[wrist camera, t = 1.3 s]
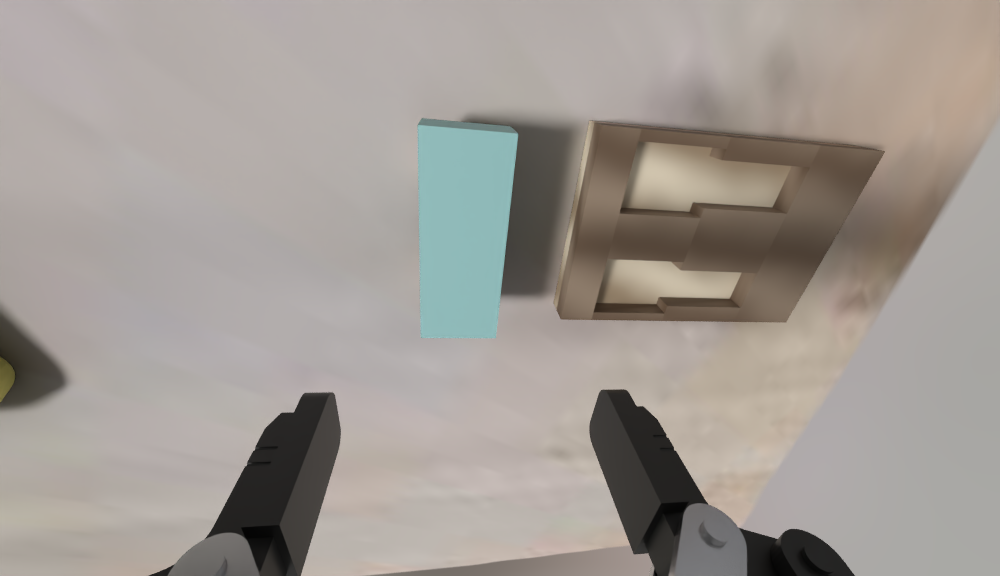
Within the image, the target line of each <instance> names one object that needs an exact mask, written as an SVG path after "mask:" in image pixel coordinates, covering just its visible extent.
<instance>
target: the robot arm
mask: <svg viewBox="0 0 1000 576" xmlns="http://www.w3.org/2000/svg"><path fill="white" fill-rule="evenodd" d="M340 436H341V429H340V422H339V416H338V411H337V405H336V399H335V395H334V393H304V394H303V395H302V397H301V399H300V401H299V403H298V405H297V407H296V409H295V412H294V413H281V414H280V415H279V416H278V417H277V418H276V419H275V420H274V421H273V422H271V423H270V424H269V425H268V426H267V427H266V428H265V430H264V432H263V434H262V435H261V437H260V439H259V441H258V443H257V445H256V447H255V451H253V453H252V454H251V456H250V458H249V460H248V462H247V466H245V468H244V470H243V472H242V474H241V475H240V477H239V479H238V481H237V483H236V485H235V487H234V489H233V491H232V493H231V494H230V496H229V498H228V500H227V502H226V504H225V506H224V508H223V510H222V512H221V513H220V515H219V517H218V519H217V521H216V523H215V525H214V527H213V528H212V530H211V532H210V533H209V534H208V536H207V537H206V538H205V540H203V541H201V542H199V543H198V544H196V545H195V546H193V547H192V548H191V549H189V550H188V551H187V552H186V553H185V554H184V555H183V556H182V557H181V558H180V559H179V560H178V561H177V562H176V564H174V565H172V566H171V567H169V568H167V569H164V570H162V571H160V572H157V573H155V574H152V575H149V576H301V573H302V569H303V566H304V563H305V559H306V556H307V553H308V549H309V546H310V543H311V539H312V536H313V533H314V529H315V526H316V523H317V519H318V516H319V513H320V509H321V506H322V503H323V500H324V496H325V493H326V490H327V486H328V483H329V480H330V476H331V473H332V470H333V466H334V463H335V460H336V456H337V453H338V449H339V445H340ZM590 438H591V442H592V445H593V448H594V450H595V453H596V456H597V458H598V461H599V464H600V466H601V469H602V471H603V474H604V477H605V479H606V482H607V485H608V487H609V490H610V493H611V495H612V498H613V501H614V503H615V506H616V508H617V511H618V514H619V516H620V519H621V522H622V524H623V527H624V530H625V532H626V535H627V537H628V540H629V543H630V545H631V548H632V551H633V553H634V554H644V553H649V556H650V558H651V561H652V563H653V565H652V567H651V570H650V575H649V576H855V575H854V574H853V573H852V571H851V570H850V569H849V567H848V566H847V565H846V563H845V562H844V561H843V560H842V559H841V557H840V556H839V555H838V554H837V553H836V552H835V551H834V550H833V549H832V548H831V547H830V546H829V545H828V544H826V543H825V542H824V541H822V540H821V539H819V538H818V537H816V536H814V535H812V534H810V533H808V532H805V531H803V530H799V529H789V530H787V531H785V532H784V533H783V534H782V535H781V536H780V537H779V539H775V538H772V537H768V536H765V535H761V534H758V533H754V532H751V531H747V530H743V529H741V528H738V527H737V525H736V524H735V523H734V522H733V521H732V519H731V518H729V517H728V516H727V515H726V514H725V513H723V512H722V511H720V510H719V509H717V508H715V507H713V506H711V505H708V503H707V502H706V500H705V499H704V497H703V496H702V494H701V492H700V491H699V489H698V487H697V486H696V484H695V482H694V481H693V479H692V477H691V475H690V474H689V472H688V470H687V469H686V467H685V465H684V464H683V462H682V460H681V459H680V457H679V455H678V454H677V452H676V451H674V447H673V445H672V443H671V442H670V440H669V438H667V437H666V433H665V432H664V430H663V428H662V427H661V425H660V423H659V422H658V420H657V419H656V418H655V417H654V416H653V415H652V414H651V413H650V412H649V411H648V410H647V409H646V408H644V407H643V406H639V407H637V406H636V405H635V403H634V401H633V399H632V397H631V396H630V394H629V392H628V391H627V390H601V391H600V393H599V395H598V398H597V402H596V405H595V408H594V411H593V414H592V418H591V421H590Z"/></svg>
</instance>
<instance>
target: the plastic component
mask: <svg viewBox="0 0 1000 576" xmlns="http://www.w3.org/2000/svg"><path fill="white" fill-rule="evenodd" d="M14 381H15V372H14V369H13V368H12V366H11V365H10V364H9V363H8V362H7V361H6V360H5V359H3V358H2V357H0V402H1V401H2V399H3V398H4V397H5V395H6V394H7V393H8V391H9V390H10V388H11V387H12V386H13V384H14Z"/></svg>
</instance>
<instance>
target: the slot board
mask: <svg viewBox="0 0 1000 576" xmlns="http://www.w3.org/2000/svg"><path fill="white" fill-rule="evenodd" d="M884 152H885V151H879V150H874V149H868V148H863V147H857V146H852V145H841V144H831V143H820V142H810V141H799V140H789V139H778V138H768V137H757V136H746V135H736V134H725V133H715V132H704V131H694V130H683V129H673V128H662V127H651V126H641V125H630V124H620V123H609V122H599V121H589V125H588V130H587V135H586V140H585V145H584V151H583V156H582V161H581V166H580V171H579V176H578V181H577V186H576V191H575V197H574V202H573V207H572V212H571V217H570V222H569V227H568V232H567V237H566V243H565V248H564V253H563V258H562V263H561V268H560V273H559V278H558V283H557V288H556V294H555V299H554V305H555V307H556V309H557V312H558V314H559V316H560V318H561V319H569V320H645V321H720V322H786V321H787V320H788V318H789V316H790V315H791V313H792V311H793V309H794V308H795V306H796V304H797V302H798V301H799V299H800V297H801V296H802V294H803V292H804V290H805V289H806V287H807V285H808V283H809V282H810V280H811V278H812V277H813V275H814V273H815V271H816V270H817V268H818V266H819V265H820V263H821V261H822V259H823V258H824V256H825V254H826V252H827V251H828V249H829V247H830V246H831V244H832V242H833V240H834V239H835V237H836V235H837V234H838V232H839V230H840V228H841V227H842V225H843V223H844V221H845V220H846V218H847V216H848V215H849V213H850V211H851V209H852V208H853V206H854V204H855V202H856V201H857V199H858V197H859V196H860V194H861V192H862V190H863V189H864V187H865V185H866V184H867V182H868V180H869V178H870V177H871V175H872V173H873V171H874V170H875V168H876V166H877V165H878V163H879V161H880V159H881V158H882V156H883V154H884Z"/></svg>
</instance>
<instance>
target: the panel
mask: <svg viewBox="0 0 1000 576" xmlns="http://www.w3.org/2000/svg"><path fill="white" fill-rule="evenodd" d="M517 141H518V133H517V132H516V131H515V130H514V129H513V128H512V127H511V126H502V125H491V124H480V123H468V122H457V121H446V120H435V119H424V118H422V119H421V120H420V122H419V124H418V182H419V250H420V317H421V338H496V331H497V322H498V313H499V304H500V295H501V286H502V277H503V268H504V259H505V250H506V241H507V232H508V223H509V214H510V205H511V195H512V186H513V177H514V168H515V159H516V150H517Z"/></svg>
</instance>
